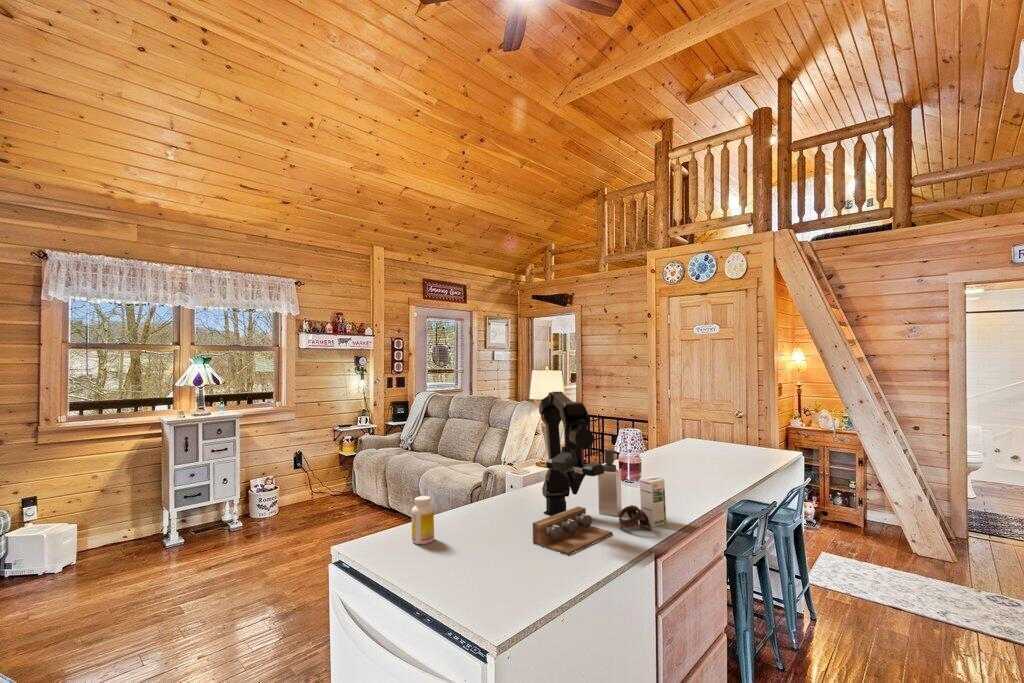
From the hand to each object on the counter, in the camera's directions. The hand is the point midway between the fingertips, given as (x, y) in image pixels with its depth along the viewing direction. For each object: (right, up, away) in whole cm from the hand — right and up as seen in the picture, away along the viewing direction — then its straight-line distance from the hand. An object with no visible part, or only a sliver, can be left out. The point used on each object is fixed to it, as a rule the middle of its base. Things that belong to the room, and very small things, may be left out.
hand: (574, 494), depth 147 cm
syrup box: (+27, -13, +9) cm, 31 cm away
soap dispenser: (+16, -14, +22) cm, 30 cm away
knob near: (-8, -11, -6) cm, 15 cm away
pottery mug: (+20, -13, +5) cm, 24 cm away
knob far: (+2, -11, +4) cm, 12 cm away
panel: (-1, -12, -4) cm, 13 cm away
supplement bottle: (-46, -13, -3) cm, 48 cm away
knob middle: (-3, -11, -1) cm, 12 cm away
